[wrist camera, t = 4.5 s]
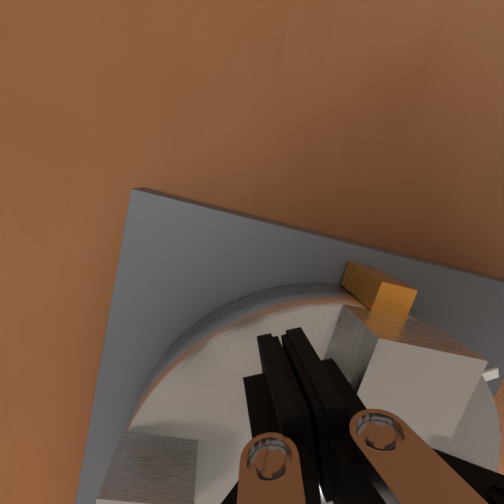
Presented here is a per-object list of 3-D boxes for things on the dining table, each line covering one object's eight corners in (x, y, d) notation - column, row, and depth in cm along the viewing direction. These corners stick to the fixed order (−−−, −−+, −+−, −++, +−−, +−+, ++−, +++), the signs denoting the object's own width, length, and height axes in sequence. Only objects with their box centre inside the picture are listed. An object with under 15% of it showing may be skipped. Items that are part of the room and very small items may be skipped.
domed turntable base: (177, 217, 13) (150, 244, 8) (513, 302, 16) (664, 365, 11) (102, 549, 17) (48, 726, 11) (386, 567, 20) (450, 712, 14)
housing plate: (510, 281, 18) (548, 294, 16) (386, 550, 23) (403, 588, 21) (142, 187, 15) (130, 188, 13) (78, 531, 19) (61, 574, 17)
